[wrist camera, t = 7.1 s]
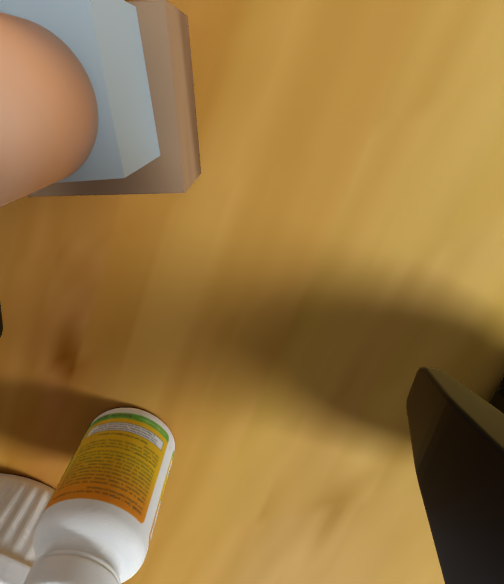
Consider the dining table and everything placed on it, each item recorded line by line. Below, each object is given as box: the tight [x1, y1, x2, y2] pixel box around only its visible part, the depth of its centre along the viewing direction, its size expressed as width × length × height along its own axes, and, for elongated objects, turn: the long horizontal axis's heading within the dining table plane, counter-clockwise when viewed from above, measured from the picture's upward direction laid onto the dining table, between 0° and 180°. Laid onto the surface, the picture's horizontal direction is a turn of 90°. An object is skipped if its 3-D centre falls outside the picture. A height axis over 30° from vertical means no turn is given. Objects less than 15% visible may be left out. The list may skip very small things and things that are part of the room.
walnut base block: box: [28, 0, 201, 197], centre depth 17 cm, size 6×6×4 cm
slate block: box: [0, 0, 160, 183], centre depth 13 cm, size 4×4×4 cm
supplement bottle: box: [23, 408, 175, 584], centre depth 22 cm, size 5×5×10 cm
